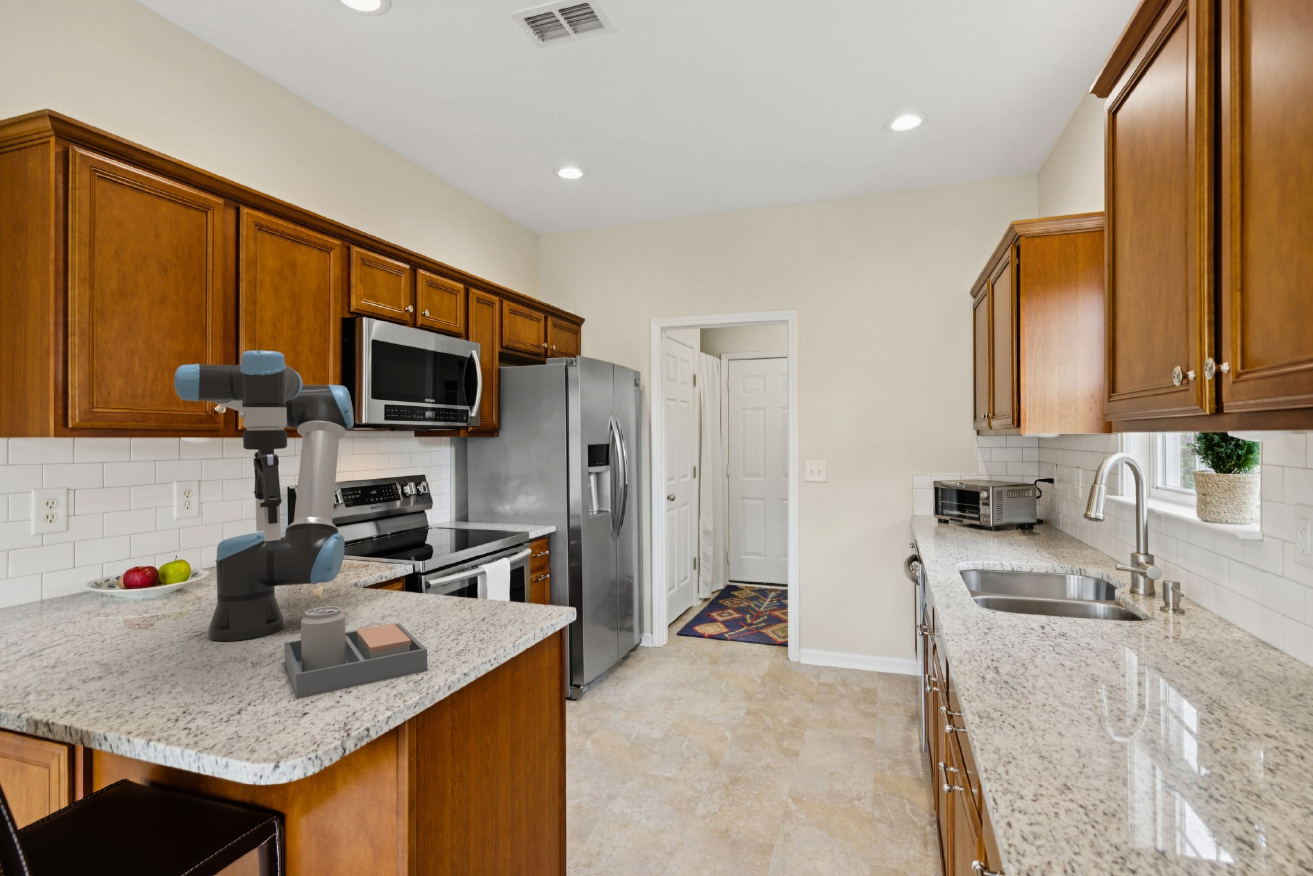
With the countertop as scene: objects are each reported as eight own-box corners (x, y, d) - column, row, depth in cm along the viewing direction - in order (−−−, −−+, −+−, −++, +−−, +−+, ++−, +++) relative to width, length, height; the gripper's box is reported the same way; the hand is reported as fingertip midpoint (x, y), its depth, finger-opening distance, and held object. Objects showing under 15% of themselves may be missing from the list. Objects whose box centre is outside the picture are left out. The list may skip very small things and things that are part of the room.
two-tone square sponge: (356, 654, 134) (356, 629, 134) (394, 647, 138) (393, 623, 138) (370, 675, 122) (370, 647, 122) (411, 666, 126) (411, 640, 126)
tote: (284, 667, 130) (284, 642, 130) (399, 646, 142) (399, 623, 142) (296, 703, 112) (296, 674, 112) (427, 675, 124) (427, 649, 124)
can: (328, 680, 120) (327, 615, 120) (292, 678, 121) (291, 614, 121) (354, 666, 127) (353, 605, 127) (320, 664, 129) (319, 603, 129)
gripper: (237, 428, 137) (240, 528, 137) (249, 430, 117) (252, 547, 118) (278, 428, 141) (281, 525, 142) (296, 429, 121) (299, 542, 122)
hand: (268, 535), depth 130 cm, fingers open, 13 cm apart
